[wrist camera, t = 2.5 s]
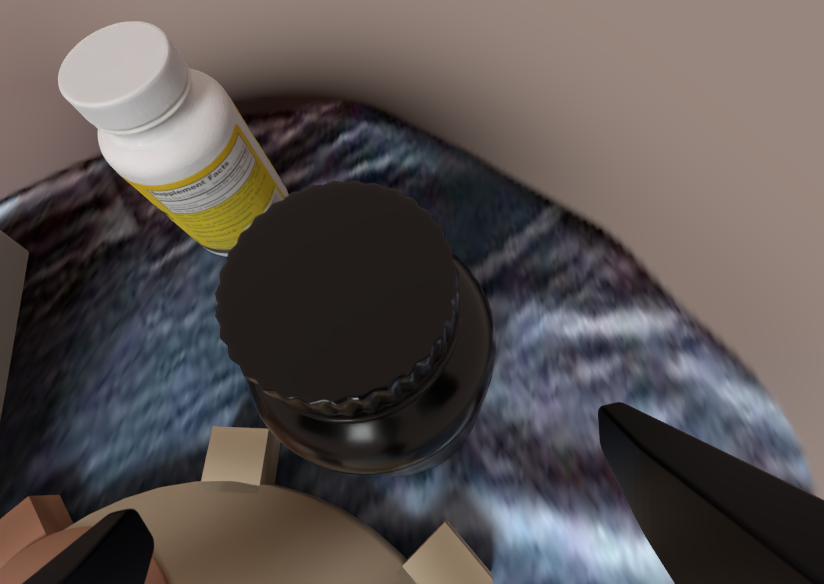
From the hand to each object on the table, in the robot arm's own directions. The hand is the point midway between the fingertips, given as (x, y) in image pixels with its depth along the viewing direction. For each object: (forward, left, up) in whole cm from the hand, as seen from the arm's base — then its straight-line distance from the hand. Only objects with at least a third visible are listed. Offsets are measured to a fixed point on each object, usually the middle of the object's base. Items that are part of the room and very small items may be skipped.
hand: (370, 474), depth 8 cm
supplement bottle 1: (+16, -2, -11) cm, 19 cm away
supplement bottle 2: (+3, -2, -11) cm, 11 cm away
